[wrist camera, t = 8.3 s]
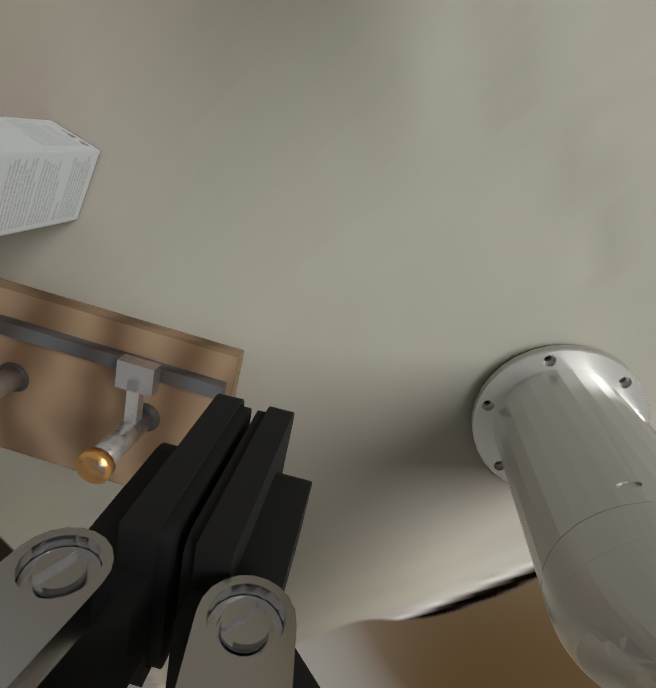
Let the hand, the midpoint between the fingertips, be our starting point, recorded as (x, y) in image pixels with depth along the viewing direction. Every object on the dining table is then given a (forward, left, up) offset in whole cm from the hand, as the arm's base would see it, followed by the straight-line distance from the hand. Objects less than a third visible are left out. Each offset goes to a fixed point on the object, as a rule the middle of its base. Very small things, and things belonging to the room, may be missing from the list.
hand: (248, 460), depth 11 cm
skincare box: (+23, +1, -27) cm, 35 cm away
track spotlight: (+14, +16, -25) cm, 33 cm away
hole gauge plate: (+18, +19, -27) cm, 37 cm away
